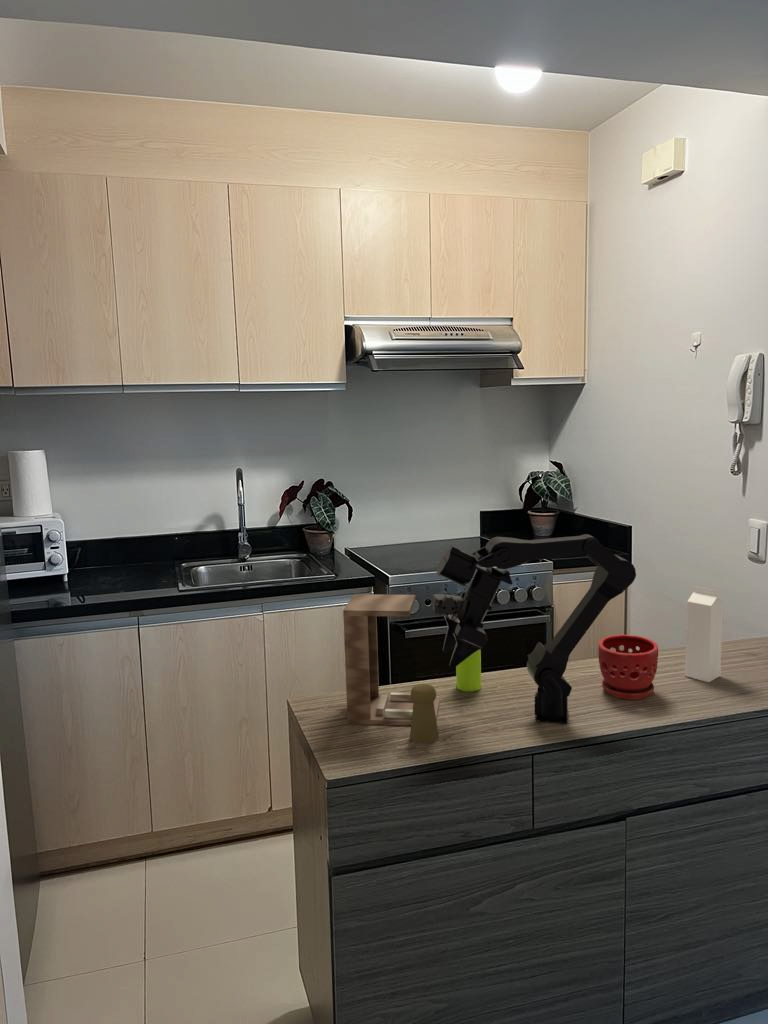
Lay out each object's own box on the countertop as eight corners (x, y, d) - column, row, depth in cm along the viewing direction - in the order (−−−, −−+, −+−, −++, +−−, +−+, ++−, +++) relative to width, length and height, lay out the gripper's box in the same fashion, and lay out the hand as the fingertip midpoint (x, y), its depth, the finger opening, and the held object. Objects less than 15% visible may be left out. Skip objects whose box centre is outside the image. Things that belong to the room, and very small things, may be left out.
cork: (436, 744, 152) (435, 692, 151) (407, 742, 154) (405, 690, 152) (440, 731, 158) (439, 681, 156) (412, 729, 159) (410, 679, 158)
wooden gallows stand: (439, 701, 173) (437, 594, 169) (435, 726, 161) (433, 611, 157) (357, 699, 176) (354, 594, 172) (347, 723, 163) (343, 610, 159)
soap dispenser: (466, 694, 177) (465, 611, 174) (452, 684, 183) (450, 604, 180) (488, 690, 179) (487, 608, 176) (473, 680, 185) (472, 601, 182)
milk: (696, 670, 188) (699, 583, 185) (720, 676, 183) (724, 587, 180) (684, 676, 184) (687, 588, 181) (708, 683, 180) (712, 592, 176)
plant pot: (591, 682, 182) (592, 634, 180) (647, 681, 182) (648, 633, 180) (605, 704, 169) (606, 653, 167) (665, 703, 169) (666, 652, 167)
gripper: (439, 568, 166) (409, 631, 168) (453, 589, 148) (418, 659, 150) (484, 588, 168) (453, 650, 169) (503, 612, 149) (468, 681, 151)
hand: (447, 659), depth 160 cm, fingers open, 9 cm apart
